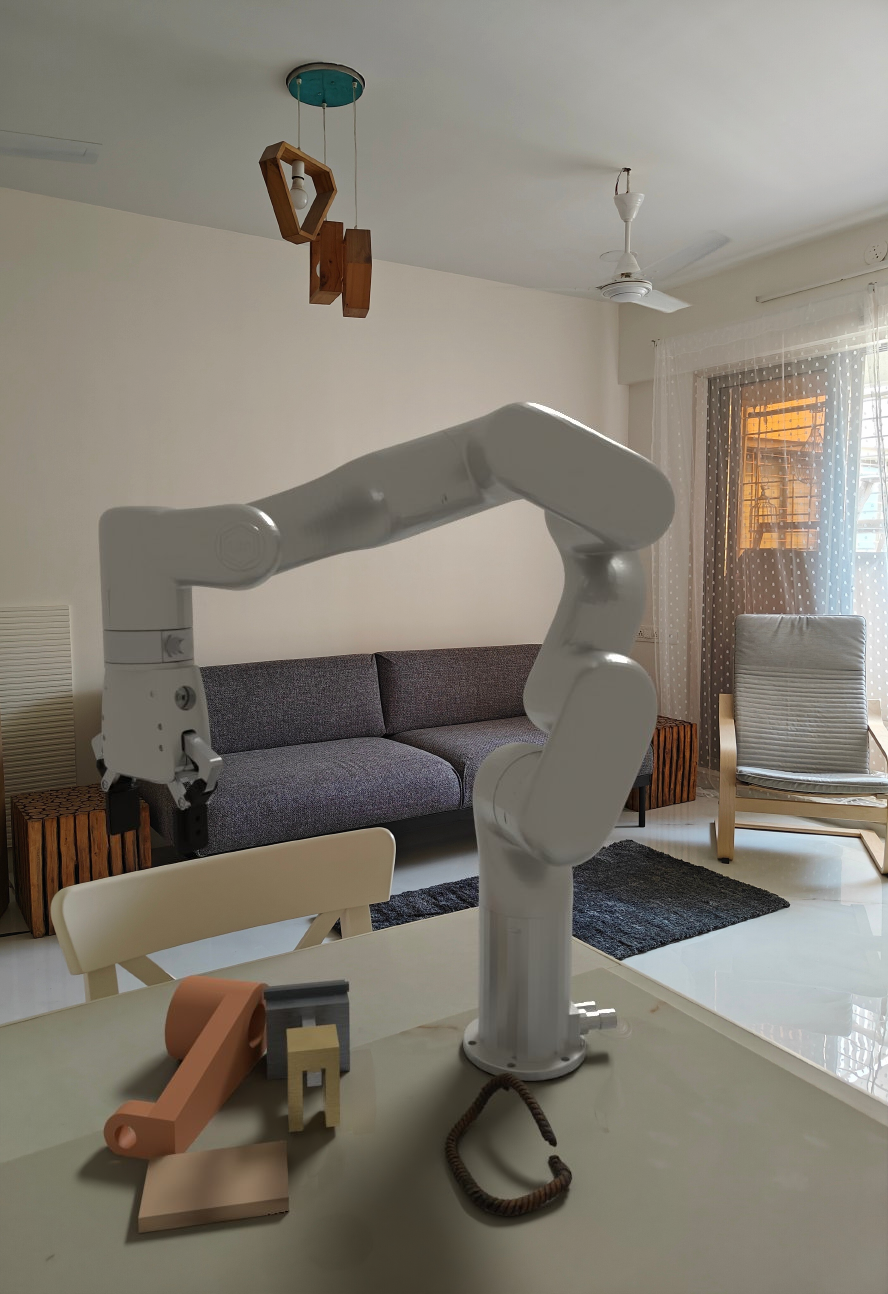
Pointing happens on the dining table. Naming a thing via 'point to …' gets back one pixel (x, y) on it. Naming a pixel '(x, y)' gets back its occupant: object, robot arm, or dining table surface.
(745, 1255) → the dining table surface
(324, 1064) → the yellow arch block
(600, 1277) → the dining table surface
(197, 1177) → the board
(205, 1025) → the crank
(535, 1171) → the dining table surface
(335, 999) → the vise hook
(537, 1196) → the brown twisted loop
